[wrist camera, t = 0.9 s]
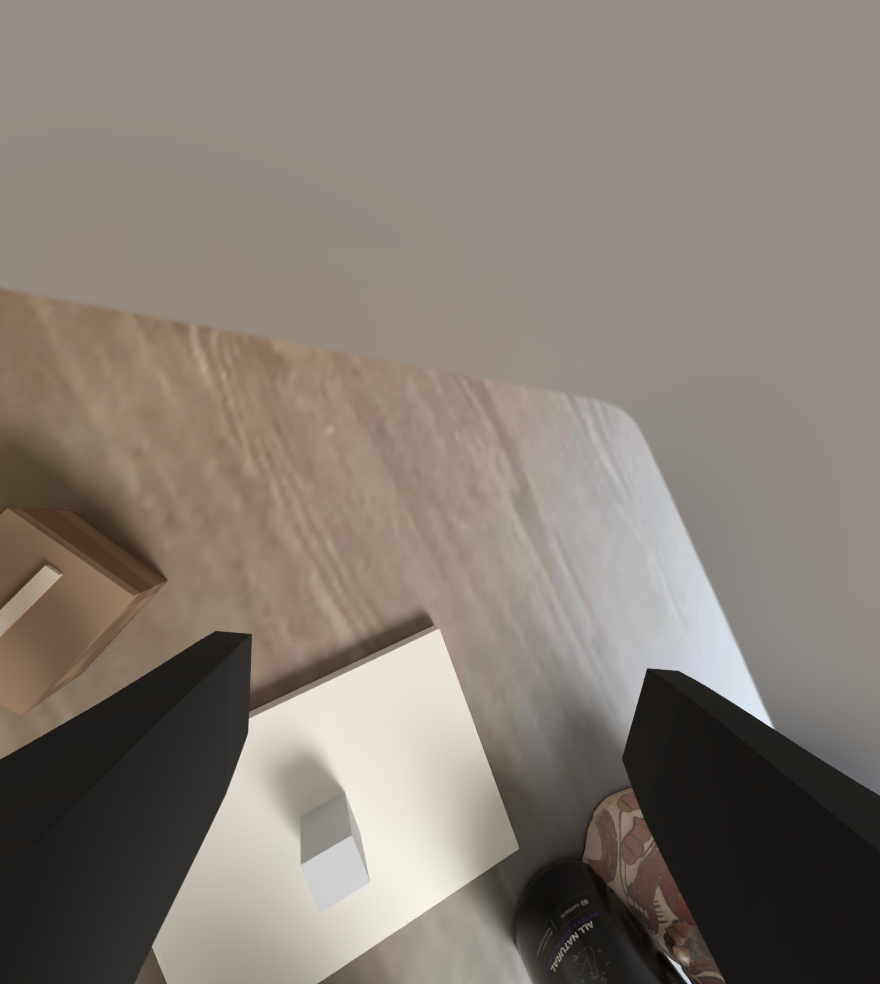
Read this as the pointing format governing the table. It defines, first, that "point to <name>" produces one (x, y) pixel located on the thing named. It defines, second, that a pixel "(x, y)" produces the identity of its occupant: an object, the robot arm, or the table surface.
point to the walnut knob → (60, 600)
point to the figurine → (646, 884)
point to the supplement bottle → (585, 933)
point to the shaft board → (394, 804)
